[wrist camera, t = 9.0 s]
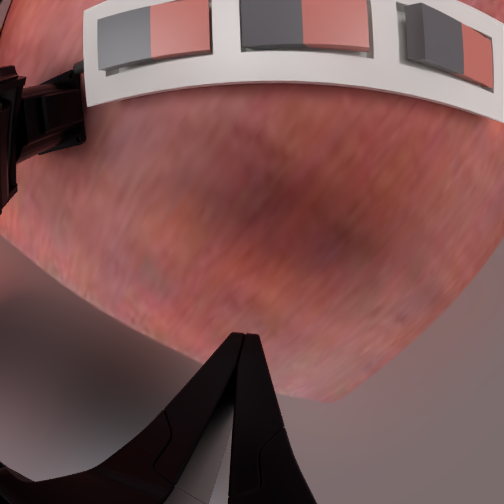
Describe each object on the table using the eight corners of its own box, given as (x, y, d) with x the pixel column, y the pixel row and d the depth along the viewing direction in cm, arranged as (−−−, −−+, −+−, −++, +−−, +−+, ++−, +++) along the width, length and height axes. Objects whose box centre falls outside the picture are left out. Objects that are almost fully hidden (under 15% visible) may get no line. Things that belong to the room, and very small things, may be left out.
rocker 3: (407, 59, 10) (425, 59, 9) (404, 6, 8) (421, 2, 7) (476, 85, 11) (492, 88, 9) (474, 40, 9) (490, 41, 8)
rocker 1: (107, 71, 12) (98, 70, 11) (106, 24, 10) (97, 19, 9) (210, 53, 13) (210, 49, 11) (209, 4, 11) (208, -3, 10)
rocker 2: (253, 49, 12) (242, 46, 11) (251, 0, 11) (240, -7, 9) (368, 52, 10) (369, 47, 9) (365, -2, 9) (365, -11, 7)
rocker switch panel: (90, 108, 17) (56, 117, 14) (86, 30, 14) (52, 27, 10) (477, 115, 13) (509, 125, 10) (476, 30, 10) (507, 26, 6)
